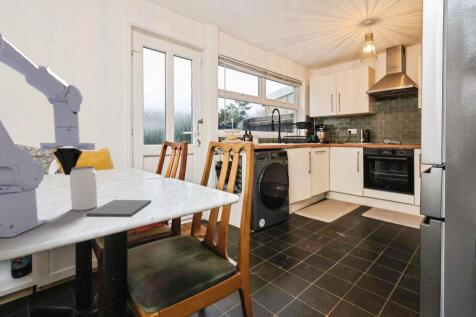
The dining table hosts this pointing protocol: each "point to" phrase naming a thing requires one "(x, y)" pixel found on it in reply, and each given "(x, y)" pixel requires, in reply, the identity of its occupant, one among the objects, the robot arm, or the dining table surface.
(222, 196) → the dining table surface
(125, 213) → the mat
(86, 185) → the can
